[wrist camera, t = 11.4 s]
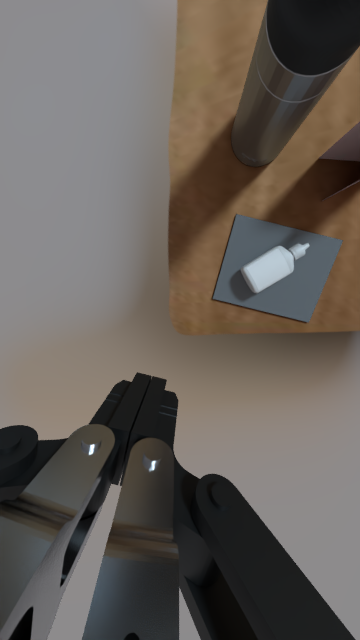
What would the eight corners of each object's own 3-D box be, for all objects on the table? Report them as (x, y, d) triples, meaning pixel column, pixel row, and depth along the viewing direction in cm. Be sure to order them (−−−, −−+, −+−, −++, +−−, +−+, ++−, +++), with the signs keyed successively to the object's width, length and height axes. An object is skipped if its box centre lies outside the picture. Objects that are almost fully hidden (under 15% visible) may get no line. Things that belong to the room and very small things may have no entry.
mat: (236, 214, 38) (236, 214, 37) (341, 240, 38) (342, 240, 37) (212, 298, 42) (212, 298, 41) (307, 321, 42) (308, 322, 41)
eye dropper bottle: (256, 289, 35) (323, 250, 33) (239, 265, 37) (301, 226, 35) (255, 296, 39) (314, 262, 37) (239, 274, 41) (295, 240, 39)
